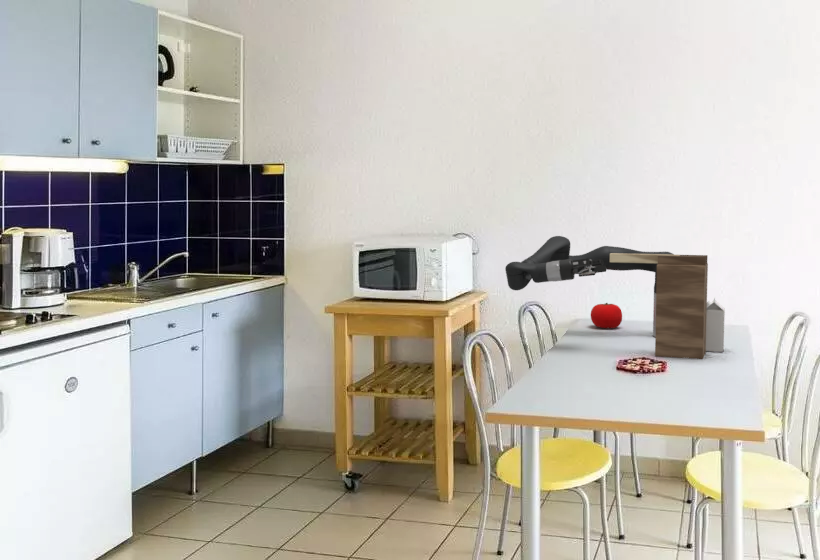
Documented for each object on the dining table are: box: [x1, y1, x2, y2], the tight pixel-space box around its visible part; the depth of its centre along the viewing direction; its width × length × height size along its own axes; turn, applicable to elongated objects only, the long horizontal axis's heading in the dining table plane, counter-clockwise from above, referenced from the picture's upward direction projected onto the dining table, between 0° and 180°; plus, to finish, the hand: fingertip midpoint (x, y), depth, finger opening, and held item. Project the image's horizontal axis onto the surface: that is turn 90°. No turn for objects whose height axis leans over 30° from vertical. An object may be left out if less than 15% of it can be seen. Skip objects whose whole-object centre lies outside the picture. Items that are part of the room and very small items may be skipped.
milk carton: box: [706, 296, 726, 353], centre depth 357 cm, size 7×7×19 cm
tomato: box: [590, 302, 623, 329], centre depth 413 cm, size 14×13×10 cm
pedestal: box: [654, 254, 709, 360], centre depth 347 cm, size 12×16×35 cm
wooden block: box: [610, 253, 681, 263], centre depth 350 cm, size 3×24×3 cm, turn 69°
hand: (604, 265), depth 359 cm, fingers open, 8 cm apart
